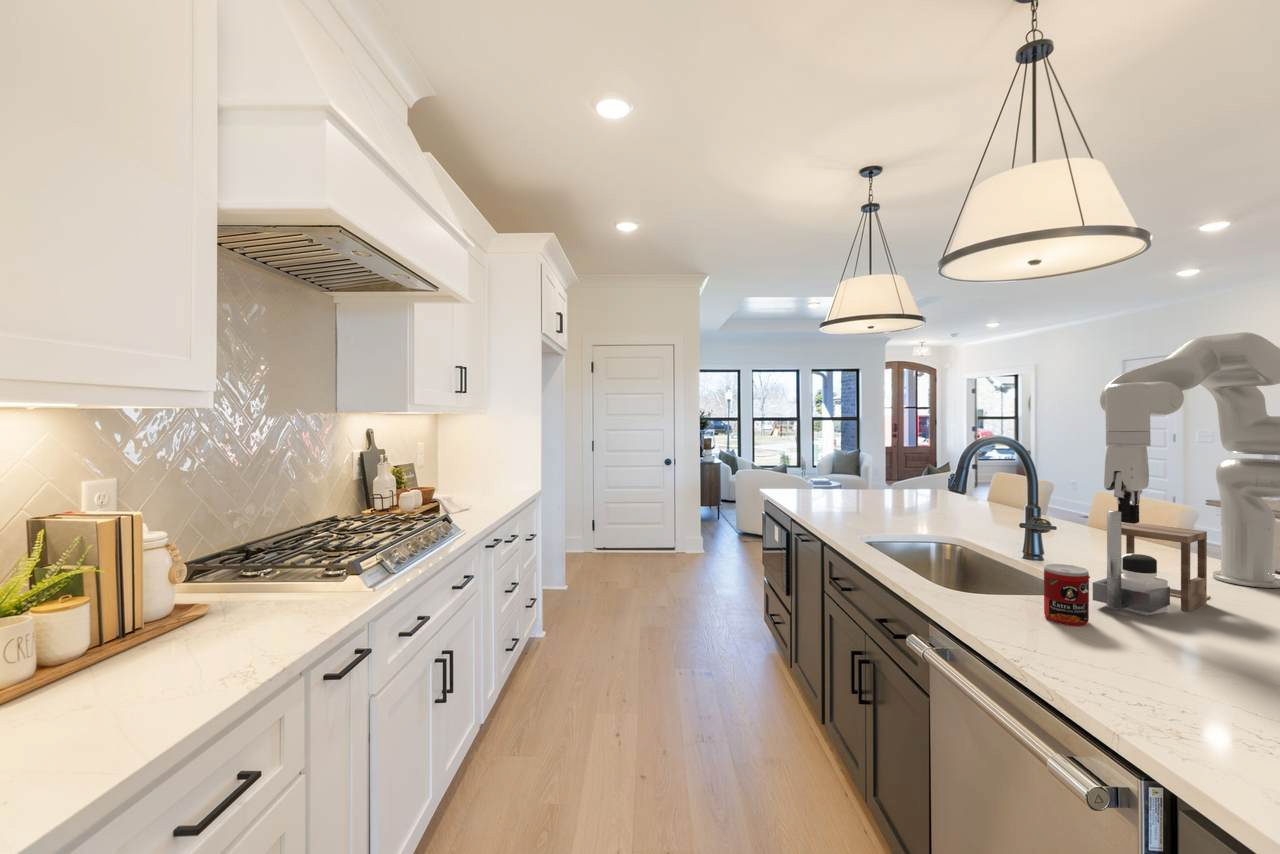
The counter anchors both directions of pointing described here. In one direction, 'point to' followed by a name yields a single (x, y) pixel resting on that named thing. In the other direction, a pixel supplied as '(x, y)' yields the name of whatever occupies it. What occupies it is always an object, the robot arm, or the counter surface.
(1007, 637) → the counter surface
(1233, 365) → the robot arm
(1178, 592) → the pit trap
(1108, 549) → the grey metal post stand
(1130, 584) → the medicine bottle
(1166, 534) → the walnut tunnel
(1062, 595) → the canned food
